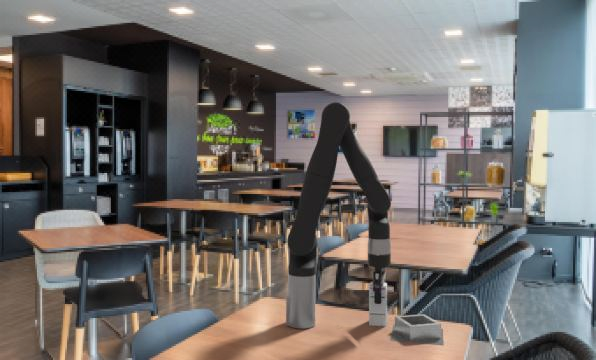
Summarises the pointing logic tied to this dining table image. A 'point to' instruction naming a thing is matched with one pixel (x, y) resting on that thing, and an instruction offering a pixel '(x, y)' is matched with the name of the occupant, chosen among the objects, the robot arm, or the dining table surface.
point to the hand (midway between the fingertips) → (379, 300)
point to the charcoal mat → (397, 337)
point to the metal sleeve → (417, 327)
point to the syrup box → (378, 307)
